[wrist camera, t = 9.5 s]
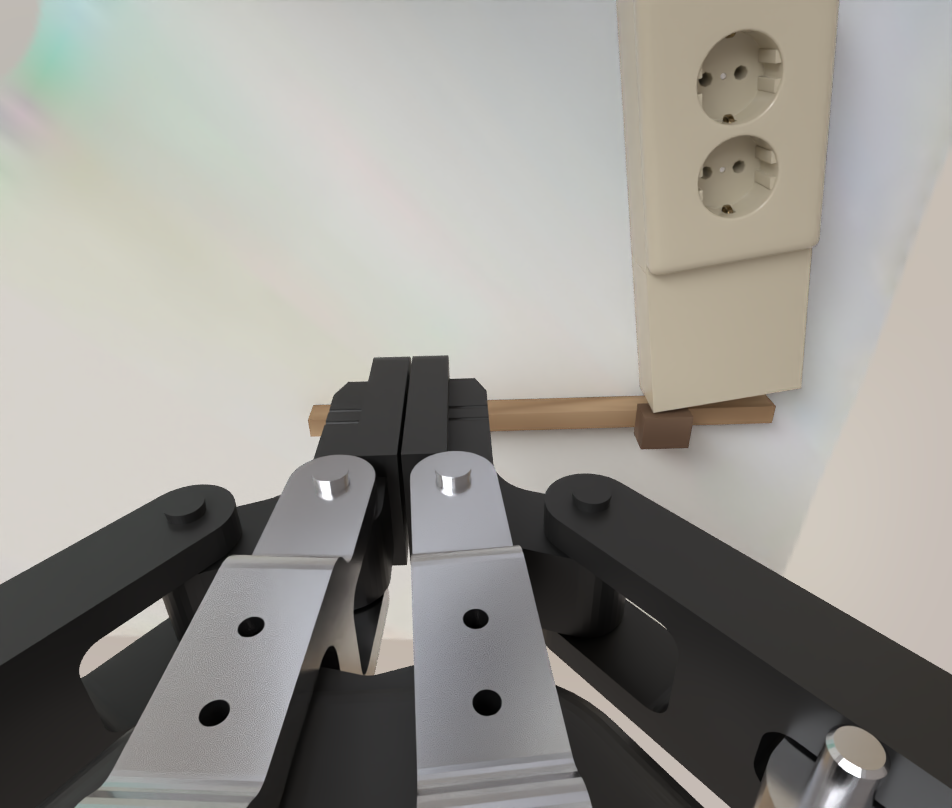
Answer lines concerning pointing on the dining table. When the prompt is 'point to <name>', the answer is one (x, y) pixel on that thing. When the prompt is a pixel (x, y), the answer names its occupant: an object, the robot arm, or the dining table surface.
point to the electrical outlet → (724, 188)
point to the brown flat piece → (610, 416)
